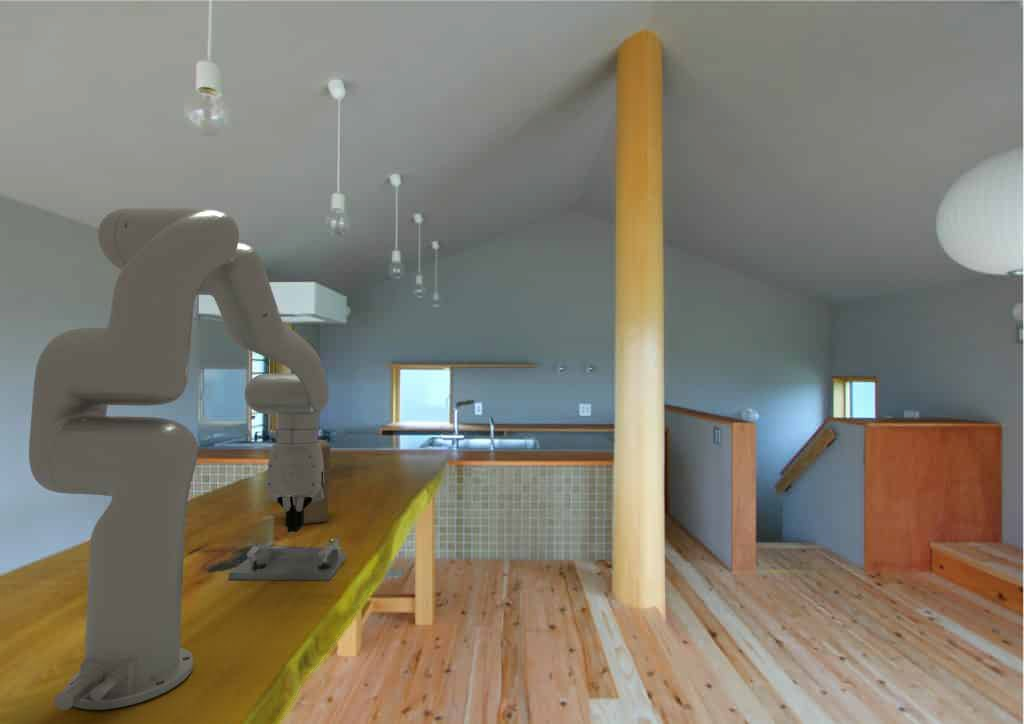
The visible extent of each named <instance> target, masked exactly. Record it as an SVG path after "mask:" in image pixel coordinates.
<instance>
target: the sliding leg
mask: <svg viewBox="0 0 1024 724" xmlns="http://www.w3.org/2000/svg"><path fill="white" fill-rule="evenodd" d="M257 531H258V532H257V533H258V535H257V545H255V546H256V547H254V548H253V549H251V548H250V550H249V551H247V553H246V557H247V558H249V557H252V565H257V555H258V554H259V553H261V552H262V551H263V550H265V549H266V548H268V547H269V546H273V544H274V534H275V533H274V531H275V515H264V516H263V517H261V518H260V519H258V530H257Z"/></svg>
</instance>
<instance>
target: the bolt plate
mask: <svg viewBox="0 0 1024 724" xmlns="http://www.w3.org/2000/svg"><path fill="white" fill-rule="evenodd" d="M339 541H340V540H339V538H335V537H334V538H333V537H332V538H329V539H328V541H326V543H325V545H324V546H305V545H304V546H294V545H293V546H291V545H290V546H289V545H288V546H287V545H285V546H284V545H283V546H282V545H270V546H269V547H268V548H266V549H265V550H263V551H262V552H261V553H259V554H258V555H257V565H252V557H247V559H245V560H243V562H241V563H240V564H239V565H237V566H236V567H235V568H234V569H232V570H230V571H229V572H228V580H229V581H230V580H233V581H235V580H237V581H239V580H244V581H245V580H247V581H251V580H252V581H257V580H259V581H260V580H261V581H269V580H270V581H330V580H331V579H332V577H334V575H335V573H336V572H337V571H338V570H339V568H341V566H342V564H344V562H345V561H346V560H347V552H341V551H342V546H339ZM256 546H257V545H254V546H252V547H251V548H250V550H251V549H253V548H254V547H256Z"/></svg>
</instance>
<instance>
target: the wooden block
mask: <svg viewBox="0 0 1024 724" xmlns="http://www.w3.org/2000/svg"><path fill="white" fill-rule="evenodd" d="M318 443H319V444H321V448H322V454H323V464H324V487H323V494H324V498H323V499H322V500H320V501H316V502H311V503H310V504H309V505H308V506H307V507H306V508H304V524H303V525H307V524H319V523H321V522H322V523H326V522H327V521H328V520H329V519H328V518H329V502H330V501H329V499H330V496H329V494H330V473H331V472H330V471H331V470H330V469H331V467H330V464H331V445H330V443H328V442H327V441H326V440H324V439H318ZM297 501H298V497H294V504H295V508H296V506H297ZM283 512H284V513H283V515H284V519H285V522H286V511H284V510H283Z"/></svg>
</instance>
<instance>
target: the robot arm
mask: <svg viewBox="0 0 1024 724" xmlns="http://www.w3.org/2000/svg"><path fill="white" fill-rule="evenodd" d="M97 239H98V244H99V246H100V249H101V251H102V254H104V256H105V258H106V259H107V260H108V261H109V262H110V263H111V264H112V265H113V266H115V268H117V269H119V270H120V272H119V274H118V276H117V278H116V281H115V283H114V287H113V292H112V293H113V294H112V301H111V309H110V315H109V321H108V325H107V327H106V328H105V327H103V328H101V327H100V328H99V327H97V328H96V327H87V328H86V327H83V328H80V327H79V328H74V329H70V330H67V331H64V332H62V333H60V334H58V335H56V336H55V337H53V338H52V340H50V342H48V343H47V345H46V346H45V347H44V349H43V350H42V352H41V354H40V355H39V359H38V361H37V364H36V367H35V373H34V379H33V390H32V393H33V394H32V404H31V413H30V414H31V418H30V428H29V429H30V430H29V431H30V432H29V441H28V442H29V443H28V460H29V467H30V472H31V473H32V474H31V475H32V476H33V477H34V479H35V481H36V482H37V483H38V484H39V485H40V486H41V487H42V488H44V489H46V490H49V491H51V492H53V493H60V494H69V495H70V494H71V495H94V496H95V495H96V496H105V497H111V500H110V503H109V505H108V506H107V508H106V509H105V510H104V512H103V513H102V514H101V516H100V517H99V519H98V520H97V521H96V523H95V525H94V527H93V529H92V533H91V536H90V540H89V548H88V549H89V550H88V575H87V577H88V578H87V579H88V580H87V596H86V597H87V599H86V616H85V617H86V618H85V619H86V620H85V621H86V623H85V637H84V638H85V639H84V658H83V659H84V660H83V661H82V662H80V665H79V670H78V671H77V672H75V674H74V675H73V676H72V677H71V678H70V679H69V680H68V682H67V683H66V686H65V688H64V689H63V690H61V691H59V693H57V694H56V696H55V697H54V705H55V708H57V709H58V710H60V711H66V710H70V708H72V707H74V708H77V709H82V710H88V711H89V710H91V711H101V710H110V709H111V710H113V709H118V708H122V707H128V706H132V705H136V704H139V703H142V702H146V701H149V700H152V699H153V698H156V697H158V696H161V695H163V694H165V693H167V692H169V691H170V690H172V689H173V688H176V687H177V686H178V685H180V684H182V682H184V680H185V679H186V678H187V677H189V675H190V674H191V673H192V671H193V668H194V655H193V654H192V652H191V651H190V650H188V649H186V648H184V647H181V632H182V631H181V627H182V626H181V625H182V604H183V603H182V602H183V586H184V585H183V582H184V581H183V579H184V557H185V555H184V553H185V535H186V533H185V532H186V515H187V507H188V499H189V493H190V490H191V485H192V481H193V478H194V473H195V469H196V466H197V460H198V452H199V450H198V443H197V439H196V437H195V435H194V433H193V432H192V431H191V430H190V428H188V427H187V426H185V425H184V424H183V423H180V422H178V421H175V420H172V419H169V418H168V419H167V418H164V417H156V416H155V417H153V416H124V415H123V416H122V415H121V416H119V415H118V416H109V415H108V416H107V410H108V406H137V407H138V406H139V407H140V406H142V407H147V406H160V405H166V404H171V403H173V402H174V401H176V400H178V399H180V397H182V395H183V394H184V391H185V390H186V387H187V383H188V379H189V372H190V362H191V361H190V359H191V348H192V347H191V345H192V344H191V343H192V331H193V330H192V329H193V314H194V305H195V302H196V301H195V300H196V298H197V296H198V295H199V296H211V297H213V300H214V301H215V304H216V306H217V309H218V310H219V313H220V315H221V318H222V320H223V324H224V326H225V327H226V330H227V333H228V335H229V337H230V339H231V341H233V342H234V343H235V344H237V346H240V347H242V348H244V349H246V350H248V351H250V352H253V353H254V354H257V355H259V356H260V355H261V356H263V357H265V358H268V359H270V360H273V361H276V362H277V363H280V364H281V365H283V366H284V367H286V368H288V369H289V370H290V372H292V373H262V374H258V375H256V376H254V377H252V378H251V379H250V380H249V382H248V383H247V384H246V386H245V390H244V397H245V398H244V399H245V402H246V404H247V406H248V408H250V409H251V410H253V411H255V412H257V413H259V414H264V415H265V414H266V415H277V428H276V430H271V431H270V433H269V436H270V438H272V439H273V438H274V439H275V441H276V443H274V444H273V443H272V446H271V450H270V454H269V458H268V464H267V471H266V480H265V493H266V495H267V496H266V499H267V500H268V501H272V502H276V503H278V504H279V505H280V506H281V507H282V508H283V512H284V511H286V521H285V527H287V533H291V532H293V533H297V532H298V531H300V530H301V528H302V527H303V526H304V525H305V524H304V508H306V507H307V506H308V505H309V504H310V503H311V502H316V501H320V500H322V499H323V498H324V494H323V487H324V464H323V454H322V448H321V444H319V443H318V440H319V418H320V417H319V413H321V412H322V411H323V410H324V409H325V408H326V407H327V404H328V402H329V398H330V397H329V395H330V392H329V391H330V390H329V385H328V384H329V383H328V380H327V376H326V372H325V369H324V366H323V363H322V360H321V358H320V356H319V355H318V352H317V351H316V350H315V349H314V348H313V346H311V345H310V344H309V343H308V342H307V341H306V340H305V339H304V338H303V337H302V336H301V335H299V334H298V333H297V332H296V331H295V330H293V329H292V328H291V327H289V326H288V325H287V324H285V323H284V321H283V319H282V317H281V314H280V310H279V307H278V305H277V301H276V299H275V295H274V293H273V290H272V286H271V284H270V283H271V282H270V280H269V278H268V274H267V272H266V268H265V265H264V263H263V259H262V257H261V255H260V254H259V252H258V251H257V250H256V249H255V248H254V247H253V246H251V245H249V244H247V243H243V242H240V241H239V240H240V232H239V227H238V224H237V222H236V221H235V220H234V218H233V217H231V216H230V215H229V214H227V213H225V212H223V211H221V210H217V209H214V208H213V209H212V208H204V207H164V208H163V207H162V208H161V207H159V208H157V207H156V208H155V207H149V208H147V207H138V208H137V207H133V208H121V209H117V210H114V211H111V212H110V213H108V214H107V215H106V216H104V218H103V219H102V220H101V222H100V224H99V227H98V230H97ZM294 497H298V501H297V506H296V508H295V504H294Z"/></svg>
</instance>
